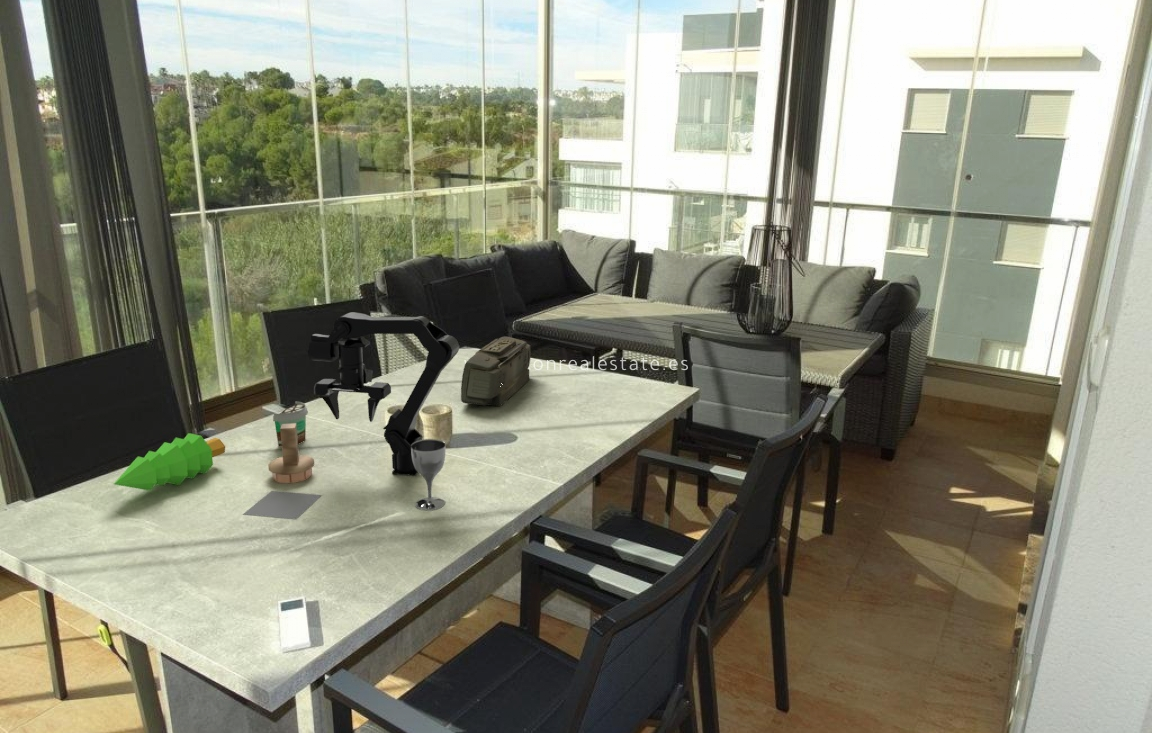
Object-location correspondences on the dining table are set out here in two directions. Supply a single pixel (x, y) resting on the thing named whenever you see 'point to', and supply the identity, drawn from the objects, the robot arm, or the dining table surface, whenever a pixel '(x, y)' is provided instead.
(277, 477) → the terracotta bowl
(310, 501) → the rubber mat
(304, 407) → the food container
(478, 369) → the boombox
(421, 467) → the wine glass
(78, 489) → the dining table surface
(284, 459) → the walnut lid
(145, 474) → the decorative tree
